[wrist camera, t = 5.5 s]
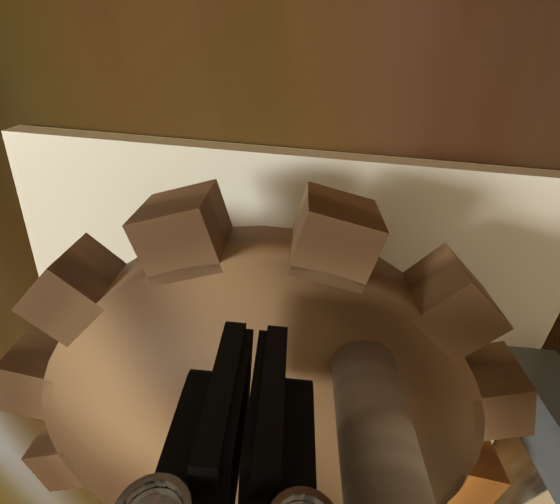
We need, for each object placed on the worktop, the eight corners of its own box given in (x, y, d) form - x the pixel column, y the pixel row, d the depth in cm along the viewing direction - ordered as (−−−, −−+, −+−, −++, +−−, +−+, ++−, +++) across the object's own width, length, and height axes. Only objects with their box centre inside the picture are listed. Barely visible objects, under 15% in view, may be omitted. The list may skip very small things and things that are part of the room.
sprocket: (391, 55, 11) (536, 86, 4) (552, 463, 18) (692, 703, 12) (-65, 319, 16) (-323, 519, 9) (207, 551, 23) (171, 750, 17)
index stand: (20, 124, 16) (-253, 210, 8) (621, 175, 16) (939, 314, 8) (92, 429, 26) (-6, 611, 17) (477, 464, 25) (559, 664, 17)
